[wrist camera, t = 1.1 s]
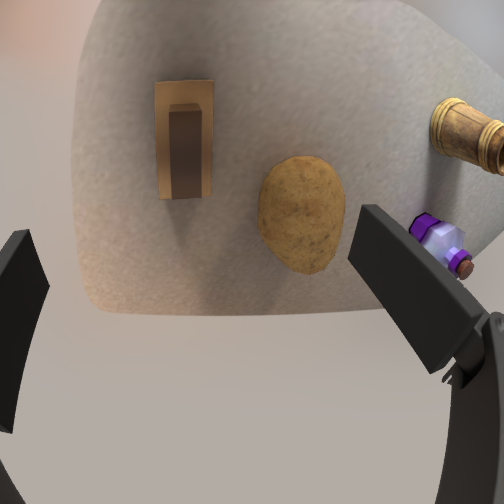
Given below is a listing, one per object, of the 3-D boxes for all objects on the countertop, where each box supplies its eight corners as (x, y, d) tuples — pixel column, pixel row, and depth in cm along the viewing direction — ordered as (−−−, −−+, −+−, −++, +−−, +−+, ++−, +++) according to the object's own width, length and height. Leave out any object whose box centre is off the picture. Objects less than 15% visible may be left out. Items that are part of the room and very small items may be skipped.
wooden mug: (480, 144, 36) (562, 196, 22) (429, 159, 35) (525, 225, 21) (481, 94, 30) (574, 137, 16) (428, 100, 30) (541, 150, 16)
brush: (157, 81, 23) (149, 86, 17) (210, 79, 25) (221, 83, 18) (160, 185, 30) (157, 223, 24) (207, 182, 31) (217, 218, 25)
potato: (261, 257, 39) (279, 300, 32) (235, 155, 30) (254, 184, 24) (330, 235, 39) (359, 272, 33) (321, 134, 30) (359, 157, 24)
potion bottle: (443, 224, 44) (488, 265, 35) (410, 257, 46) (451, 303, 37) (430, 193, 39) (484, 236, 30) (393, 230, 42) (442, 280, 32)
